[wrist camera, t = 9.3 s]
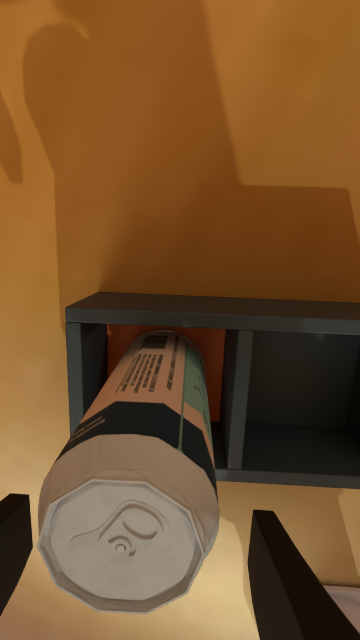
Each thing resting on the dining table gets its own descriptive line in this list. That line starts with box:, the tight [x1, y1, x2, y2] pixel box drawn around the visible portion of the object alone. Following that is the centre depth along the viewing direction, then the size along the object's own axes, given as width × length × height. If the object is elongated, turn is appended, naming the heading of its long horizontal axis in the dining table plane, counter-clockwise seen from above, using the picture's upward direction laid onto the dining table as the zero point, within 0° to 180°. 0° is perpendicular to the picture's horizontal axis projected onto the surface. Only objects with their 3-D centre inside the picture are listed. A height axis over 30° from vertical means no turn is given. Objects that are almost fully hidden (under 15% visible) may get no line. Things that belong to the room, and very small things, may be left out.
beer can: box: [37, 330, 220, 614], centre depth 13 cm, size 5×5×12 cm
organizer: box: [65, 292, 360, 489], centre depth 17 cm, size 8×16×5 cm, turn 88°
